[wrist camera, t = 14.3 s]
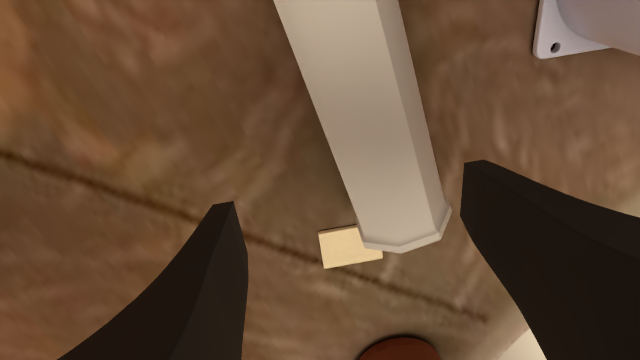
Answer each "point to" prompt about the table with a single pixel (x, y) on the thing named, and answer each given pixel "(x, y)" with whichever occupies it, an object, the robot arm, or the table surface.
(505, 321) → the table surface
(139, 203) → the table surface
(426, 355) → the bottle
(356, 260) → the end marks
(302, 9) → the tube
